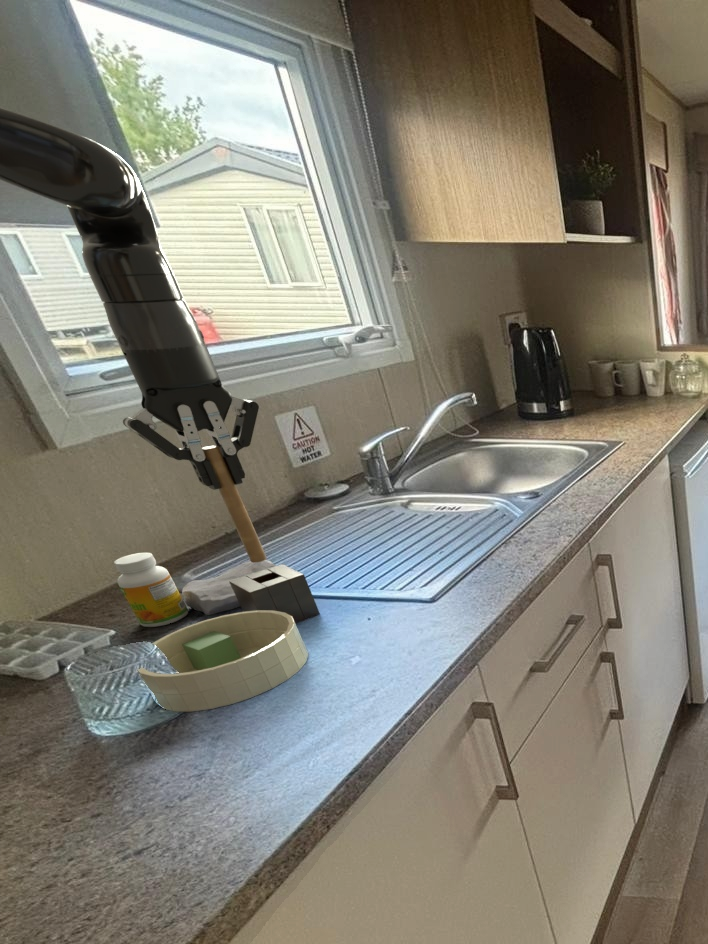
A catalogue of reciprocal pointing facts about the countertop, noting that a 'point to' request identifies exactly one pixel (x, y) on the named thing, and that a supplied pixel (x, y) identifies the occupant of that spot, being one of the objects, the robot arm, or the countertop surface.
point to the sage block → (211, 650)
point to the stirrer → (235, 505)
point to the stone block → (219, 589)
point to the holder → (276, 592)
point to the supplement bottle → (149, 590)
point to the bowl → (258, 670)
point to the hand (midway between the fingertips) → (225, 485)
